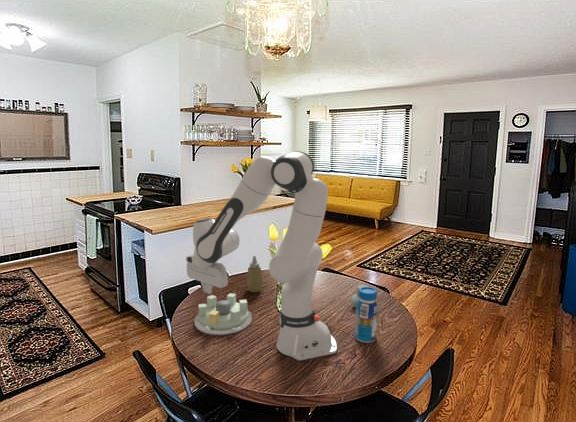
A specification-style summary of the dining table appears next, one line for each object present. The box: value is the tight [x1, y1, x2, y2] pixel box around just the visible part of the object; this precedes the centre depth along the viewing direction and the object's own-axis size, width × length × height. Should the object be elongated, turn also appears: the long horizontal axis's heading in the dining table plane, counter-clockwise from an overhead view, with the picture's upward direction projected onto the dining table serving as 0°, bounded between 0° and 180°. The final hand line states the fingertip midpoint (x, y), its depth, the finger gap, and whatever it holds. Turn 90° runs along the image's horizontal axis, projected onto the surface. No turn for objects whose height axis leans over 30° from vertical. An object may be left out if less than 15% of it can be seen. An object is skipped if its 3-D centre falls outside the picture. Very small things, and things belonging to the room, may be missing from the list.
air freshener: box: [350, 284, 370, 309], centre depth 168 cm, size 11×8×10 cm
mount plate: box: [193, 310, 253, 336], centre depth 155 cm, size 24×24×3 cm
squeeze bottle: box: [246, 255, 263, 293], centre depth 184 cm, size 8×8×18 cm
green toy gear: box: [197, 292, 249, 330], centre depth 155 cm, size 21×21×6 cm
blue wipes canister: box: [354, 286, 379, 344], centre depth 142 cm, size 8×8×20 cm
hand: (207, 292), depth 146 cm, fingers closed
